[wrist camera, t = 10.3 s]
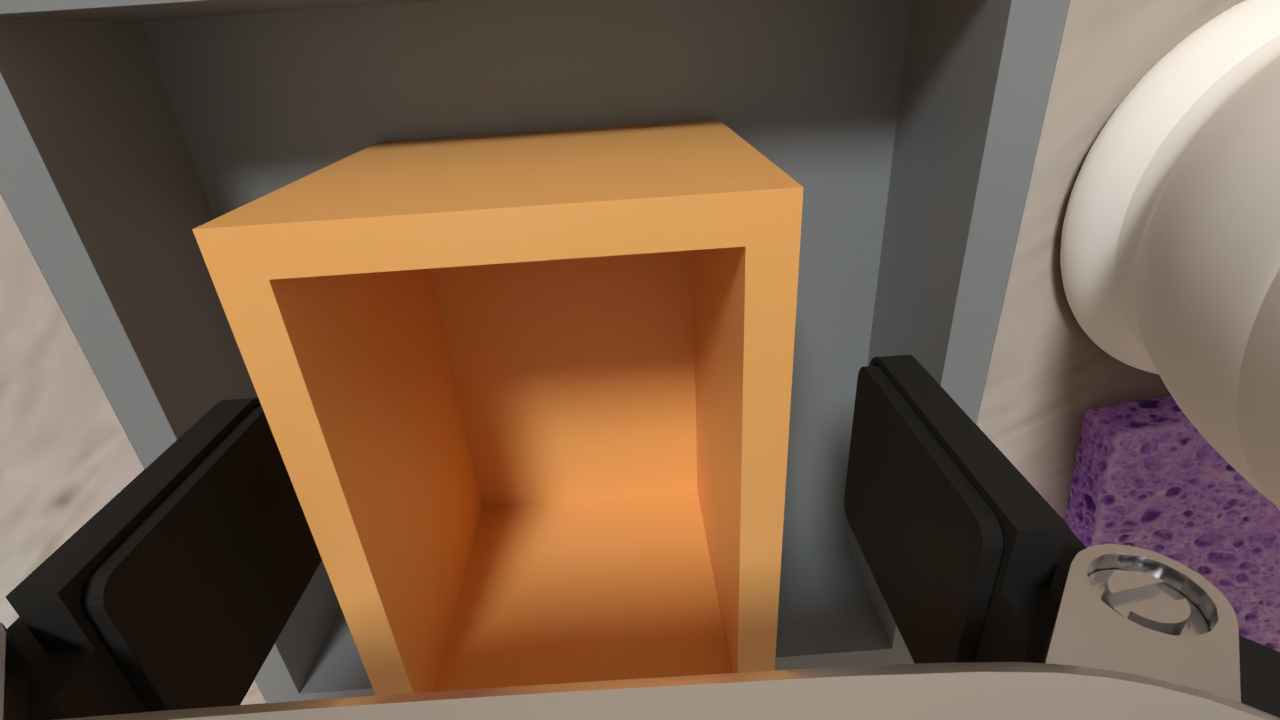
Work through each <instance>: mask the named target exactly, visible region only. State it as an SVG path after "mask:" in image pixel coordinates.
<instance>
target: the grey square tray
mask: <svg viewBox="0 0 1280 720" xmlns="http://www.w3.org/2000/svg"><path fill="white" fill-rule="evenodd" d="M1069 5H1070V0H0V194H1V196H2V198H3V199H4V201H5V203H6V205H7V207H8V209H9V211H10V213H11V215H12V217H13V219H14V221H15V222H16V224H17V226H18V228H19V230H20V232H21V234H22V236H23V238H24V240H25V242H26V243H27V245H28V247H29V249H30V251H31V253H32V255H33V257H34V259H35V261H36V263H37V265H38V266H39V268H40V270H41V272H42V274H43V276H44V278H45V280H46V282H47V284H48V286H49V287H50V289H51V291H52V293H53V295H54V297H55V299H56V301H57V303H58V305H59V307H60V309H61V310H62V312H63V314H64V316H65V318H66V320H67V322H68V324H69V326H70V328H71V330H72V331H73V333H74V335H75V337H76V339H77V341H78V343H79V345H80V347H81V349H82V351H83V353H84V354H85V356H86V358H87V360H88V362H89V364H90V366H91V368H92V370H93V372H94V374H95V375H96V377H97V379H98V381H99V383H100V385H101V387H102V389H103V391H104V393H105V395H106V397H107V398H108V400H109V402H110V404H111V406H112V408H113V410H114V412H115V414H116V416H117V418H118V419H119V421H120V423H121V425H122V427H123V429H124V431H125V433H126V435H127V437H128V439H129V441H130V442H131V444H132V446H133V448H134V450H135V452H136V454H137V456H138V458H139V460H140V462H141V463H142V465H143V467H144V469H146V468H147V467H148V466H149V465H150V464H151V463H152V462H153V461H155V460H156V459H157V458H158V457H159V456H160V455H161V454H162V453H163V452H164V451H165V450H167V449H168V448H169V447H170V446H171V445H172V444H173V443H174V442H175V441H176V440H177V439H179V438H180V437H181V436H182V435H183V434H184V433H185V432H186V431H187V430H188V429H190V428H191V427H192V426H193V425H194V424H195V423H196V422H197V421H198V420H199V419H200V418H202V417H203V416H204V415H205V414H206V413H207V412H208V411H209V410H210V409H211V408H212V407H214V406H215V405H216V404H217V403H218V402H220V401H222V400H231V399H246V398H258V395H257V393H256V390H255V388H254V385H253V383H252V380H251V378H250V375H249V373H248V370H247V368H246V365H245V362H244V360H243V357H242V355H241V352H240V350H239V347H238V345H237V342H236V340H235V337H234V334H233V332H232V329H231V327H230V324H229V322H228V319H227V317H226V314H225V312H224V309H223V307H222V304H221V301H220V299H219V296H218V294H217V291H216V289H215V286H214V284H213V281H212V279H211V276H210V274H209V271H208V268H207V266H206V263H205V261H204V258H203V256H202V253H201V251H200V248H199V246H198V243H197V240H196V238H195V235H194V233H193V230H192V229H194V228H196V227H198V226H201V225H203V224H205V223H207V222H209V221H211V220H213V219H215V218H218V217H220V216H222V215H224V214H226V213H228V212H230V211H233V210H235V209H237V208H239V207H241V206H243V205H245V204H248V203H250V202H252V201H254V200H256V199H258V198H260V197H263V196H265V195H267V194H269V193H271V192H273V191H275V190H277V189H280V188H282V187H284V186H286V185H288V184H290V183H292V182H295V181H297V180H299V179H301V178H303V177H305V176H307V175H310V174H312V173H314V172H316V171H318V170H320V169H322V168H325V167H327V166H329V165H331V164H333V163H335V162H337V161H340V160H342V159H344V158H346V157H348V156H350V155H352V154H354V153H357V152H359V151H361V150H363V149H365V148H367V147H369V146H372V145H374V144H376V143H378V142H384V141H399V140H413V139H428V138H443V137H458V136H472V135H487V134H502V133H516V132H531V131H546V130H561V129H575V128H590V127H605V126H619V125H634V124H649V123H664V122H678V121H693V120H708V119H718V120H720V121H721V122H722V123H724V124H725V125H726V126H727V127H729V128H730V129H731V130H732V131H734V132H735V133H736V134H737V135H739V136H740V137H741V138H742V139H744V140H745V141H746V142H747V143H749V144H750V145H751V146H752V147H754V148H755V149H756V150H757V151H759V152H760V153H761V154H762V155H764V156H765V157H766V158H767V159H769V160H770V161H771V162H773V163H774V164H775V165H776V166H778V167H779V168H780V169H781V170H783V171H784V172H785V173H786V174H788V175H789V176H790V177H791V178H793V179H794V180H795V181H796V182H798V183H799V184H800V185H801V186H803V187H804V188H803V205H802V222H801V238H800V255H799V272H798V288H797V305H796V322H795V339H794V355H793V372H792V389H791V405H790V422H789V439H788V456H787V472H786V489H785V506H784V522H783V539H782V556H781V572H780V589H779V606H778V623H777V639H776V656H775V671H776V670H792V669H809V668H830V667H853V666H875V665H897V664H915V663H914V661H913V659H912V657H911V655H910V653H909V651H908V649H907V646H906V644H905V642H904V640H903V638H902V636H901V634H900V632H899V629H898V627H897V625H896V623H895V621H894V619H893V617H892V614H891V612H890V610H889V608H888V606H887V604H886V602H885V600H884V597H883V595H882V593H881V591H880V589H879V587H878V585H877V583H876V580H875V578H874V576H873V574H872V572H871V570H870V568H869V565H868V563H867V561H866V559H865V557H864V555H863V553H862V551H861V548H860V546H859V544H858V542H857V540H856V538H855V536H854V534H853V531H852V529H851V527H850V525H849V523H848V520H847V518H846V514H845V508H844V494H845V485H846V477H847V468H848V459H849V450H850V441H851V432H852V424H853V415H854V406H855V397H856V388H857V379H858V373H859V370H860V368H861V367H864V366H869V364H870V362H871V359H873V358H874V357H881V356H896V355H912V356H913V357H915V358H916V360H917V361H918V362H919V363H920V364H921V365H922V366H923V367H924V368H925V369H926V371H927V372H928V373H929V374H930V375H931V376H932V377H933V378H934V379H935V380H936V381H937V383H938V384H939V385H940V386H941V387H942V388H943V389H944V390H945V391H946V392H947V393H948V395H949V396H950V397H951V398H952V399H953V400H954V401H955V402H956V403H957V404H958V405H959V407H960V408H961V409H962V410H963V411H964V412H965V413H966V414H967V415H968V416H969V417H970V419H971V420H972V421H973V422H974V423H975V424H976V423H977V419H978V414H979V410H980V405H981V401H982V396H983V392H984V387H985V383H986V378H987V374H988V369H989V365H990V360H991V356H992V351H993V347H994V342H995V338H996V333H997V329H998V324H999V320H1000V315H1001V311H1002V306H1003V302H1004V297H1005V293H1006V288H1007V284H1008V279H1009V275H1010V270H1011V266H1012V261H1013V257H1014V252H1015V248H1016V243H1017V239H1018V234H1019V230H1020V225H1021V221H1022V216H1023V212H1024V207H1025V203H1026V198H1027V194H1028V189H1029V185H1030V180H1031V176H1032V171H1033V167H1034V162H1035V158H1036V153H1037V149H1038V144H1039V140H1040V135H1041V131H1042V126H1043V122H1044V117H1045V113H1046V108H1047V104H1048V99H1049V95H1050V90H1051V86H1052V81H1053V77H1054V72H1055V68H1056V63H1057V59H1058V54H1059V50H1060V45H1061V41H1062V36H1063V32H1064V27H1065V23H1066V18H1067V14H1068V9H1069ZM254 680H255V682H256V683H257V685H258V687H259V689H260V691H261V693H262V695H263V697H264V699H265V701H266V703H279V702H293V701H307V700H321V699H335V698H349V697H363V696H376V695H375V693H374V690H373V688H372V685H371V683H370V680H369V677H368V675H367V672H366V670H365V667H364V665H363V662H362V660H361V657H360V655H359V652H358V650H357V647H356V644H355V642H354V639H353V637H352V634H351V632H350V629H349V627H348V624H347V622H346V619H345V617H344V614H343V611H342V609H341V606H340V604H339V601H338V599H337V596H336V594H335V591H334V589H333V586H332V583H331V581H330V578H329V576H328V573H327V571H326V568H325V566H324V563H323V561H321V563H320V565H319V566H318V568H317V570H316V572H315V573H314V575H313V577H312V579H311V580H310V582H309V584H308V586H307V588H306V589H305V591H304V593H303V595H302V596H301V598H300V600H299V602H298V603H297V605H296V607H295V609H294V610H293V612H292V614H291V616H290V618H289V619H288V621H287V623H286V625H285V626H284V628H283V630H282V632H281V633H280V635H279V637H278V639H277V640H276V642H275V644H274V646H273V648H272V649H271V651H270V653H269V655H268V656H267V658H266V660H265V662H264V663H263V665H262V667H261V669H260V671H259V672H258V674H257V676H256V678H255V679H254Z"/></svg>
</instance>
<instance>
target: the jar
mask: <svg viewBox="0 0 1280 720" xmlns="http://www.w3.org/2000/svg"><path fill="white" fill-rule="evenodd" d="M1060 265H1061V274H1062V280H1063V286H1064V291H1065V294H1066V298H1067V301H1068V303H1069V306H1070V308H1071V310H1072V312H1073V314H1074V316H1075V318H1076V320H1077V322H1078V323H1079V325H1080V326H1081V328H1082V329H1083V331H1084V332H1085V333H1086V334H1087V335H1088V337H1089V338H1090V339H1091V340H1092V341H1093V342H1094V343H1095V344H1096V345H1097V346H1098V347H1100V348H1101V349H1102V350H1103V351H1105V352H1106V353H1107V354H1109V355H1110V356H1112V357H1114V358H1115V359H1117V360H1119V361H1121V362H1123V363H1125V364H1127V365H1129V366H1132V367H1134V368H1137V369H1140V370H1143V371H1147V372H1150V373H1154V374H1159V375H1160V377H1161V379H1162V381H1163V383H1164V384H1165V386H1166V388H1167V389H1168V391H1169V393H1170V394H1171V396H1172V397H1173V399H1174V400H1175V402H1176V403H1177V405H1178V406H1179V408H1180V409H1181V410H1182V412H1183V413H1184V414H1185V416H1186V417H1187V418H1188V419H1189V421H1190V422H1191V423H1192V424H1193V426H1194V427H1195V428H1196V429H1197V430H1198V431H1199V433H1200V434H1201V435H1202V436H1203V437H1204V438H1205V439H1206V441H1207V442H1208V443H1209V444H1210V445H1211V446H1212V447H1213V448H1214V449H1215V450H1216V451H1217V452H1218V453H1219V454H1220V455H1221V456H1222V457H1223V458H1224V459H1225V460H1226V461H1227V462H1228V463H1229V464H1230V465H1231V466H1232V467H1233V468H1234V469H1235V470H1236V471H1237V472H1238V473H1239V474H1240V475H1241V476H1242V477H1243V478H1245V479H1246V480H1247V481H1248V482H1249V483H1250V484H1251V485H1252V486H1253V487H1255V488H1256V489H1257V490H1258V491H1259V492H1260V493H1261V494H1263V495H1264V496H1265V497H1266V498H1267V499H1269V500H1270V501H1271V502H1272V503H1274V504H1275V505H1276V507H1277V508H1278V509H1279V510H1280V0H1245V1H1243V2H1241V3H1239V4H1237V5H1235V6H1233V7H1231V8H1229V9H1228V10H1226V11H1224V12H1223V13H1221V14H1219V15H1218V16H1216V17H1215V18H1213V19H1212V20H1210V21H1209V22H1207V23H1206V24H1204V25H1203V26H1201V27H1200V28H1199V29H1197V30H1196V31H1194V32H1193V33H1192V34H1190V35H1189V36H1188V37H1186V38H1185V39H1184V40H1182V41H1181V42H1180V43H1179V44H1178V45H1176V46H1175V47H1174V48H1173V49H1172V50H1171V51H1170V52H1168V53H1167V54H1166V55H1165V56H1164V57H1163V58H1162V59H1161V60H1160V61H1158V62H1157V63H1156V64H1155V65H1154V66H1153V67H1152V68H1151V69H1150V70H1149V71H1148V72H1147V73H1146V74H1145V75H1144V76H1143V77H1142V78H1141V80H1140V81H1139V82H1138V83H1137V84H1136V85H1135V86H1134V88H1133V89H1132V90H1131V91H1130V92H1129V93H1128V95H1127V96H1126V97H1125V98H1124V100H1123V101H1122V102H1121V103H1120V104H1119V106H1118V107H1117V108H1116V110H1115V111H1114V112H1113V114H1112V115H1111V117H1110V118H1109V120H1108V121H1107V123H1106V124H1105V126H1104V127H1103V129H1102V130H1101V132H1100V134H1099V135H1098V137H1097V139H1096V140H1095V142H1094V144H1093V145H1092V147H1091V149H1090V151H1089V152H1088V154H1087V156H1086V159H1085V161H1084V163H1083V165H1082V167H1081V170H1080V172H1079V174H1078V177H1077V179H1076V181H1075V184H1074V186H1073V189H1072V192H1071V195H1070V198H1069V202H1068V206H1067V210H1066V214H1065V218H1064V223H1063V228H1062V236H1061V251H1060Z"/></svg>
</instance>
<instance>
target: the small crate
mask: <svg viewBox="0 0 1280 720" xmlns="http://www.w3.org/2000/svg"><path fill="white" fill-rule="evenodd" d="M803 188H804V187H803V186H801V185H800V184H799V183H798V182H796V181H795V180H794V179H793V178H791V177H790V176H789V175H788V174H786V173H785V172H784V171H783V170H781V169H780V168H779V167H778V166H776V165H775V164H774V163H773V162H771V161H770V160H769V159H767V158H766V157H765V156H764V155H762V154H761V153H760V152H759V151H757V150H756V149H755V148H754V147H752V146H751V145H750V144H749V143H747V142H746V141H745V140H744V139H742V138H741V137H740V136H739V135H737V134H736V133H735V132H734V131H732V130H731V129H730V128H729V127H727V126H726V125H725V124H724V123H722V122H721V121H720V120H718V119H708V120H693V121H678V122H664V123H649V124H634V125H619V126H605V127H590V128H575V129H561V130H546V131H531V132H516V133H502V134H487V135H472V136H458V137H443V138H428V139H413V140H399V141H384V142H378V143H376V144H374V145H372V146H369V147H367V148H365V149H363V150H361V151H359V152H357V153H354V154H352V155H350V156H348V157H346V158H344V159H342V160H340V161H337V162H335V163H333V164H331V165H329V166H327V167H325V168H322V169H320V170H318V171H316V172H314V173H312V174H310V175H307V176H305V177H303V178H301V179H299V180H297V181H295V182H292V183H290V184H288V185H286V186H284V187H282V188H280V189H277V190H275V191H273V192H271V193H269V194H267V195H265V196H263V197H260V198H258V199H256V200H254V201H252V202H250V203H248V204H245V205H243V206H241V207H239V208H237V209H235V210H233V211H230V212H228V213H226V214H224V215H222V216H220V217H218V218H215V219H213V220H211V221H209V222H207V223H205V224H203V225H201V226H198V227H196V228H194V229H192V230H193V233H194V235H195V238H196V240H197V243H198V246H199V248H200V251H201V253H202V256H203V258H204V261H205V263H206V266H207V268H208V271H209V274H210V276H211V279H212V281H213V284H214V286H215V289H216V291H217V294H218V296H219V299H220V301H221V304H222V307H223V309H224V312H225V314H226V317H227V319H228V322H229V324H230V327H231V329H232V332H233V334H234V337H235V340H236V342H237V345H238V347H239V350H240V352H241V355H242V357H243V360H244V362H245V365H246V368H247V370H248V373H249V375H250V378H251V380H252V383H253V385H254V388H255V390H256V393H257V395H258V398H259V401H260V403H261V406H262V408H263V411H264V413H265V416H266V418H267V421H268V423H269V426H270V429H271V431H272V434H273V436H274V439H275V441H276V444H277V446H278V449H279V451H280V454H281V456H282V459H283V462H284V464H285V467H286V469H287V472H288V474H289V477H290V479H291V482H292V484H293V487H294V489H295V492H296V495H297V497H298V500H299V502H300V505H301V507H302V510H303V512H304V515H305V517H306V520H307V523H308V525H309V528H310V530H311V533H312V535H313V538H314V540H315V543H316V545H317V548H318V550H319V553H320V556H321V558H322V561H323V563H324V566H325V568H326V571H327V573H328V576H329V578H330V581H331V583H332V586H333V589H334V591H335V594H336V596H337V599H338V601H339V604H340V606H341V609H342V611H343V614H344V617H345V619H346V622H347V624H348V627H349V629H350V632H351V634H352V637H353V639H354V642H355V644H356V647H357V650H358V652H359V655H360V657H361V660H362V662H363V665H364V667H365V670H366V672H367V675H368V677H369V680H370V683H371V685H372V688H373V690H374V693H375V695H376V696H378V695H393V694H409V693H424V692H439V691H454V690H469V689H484V688H499V687H515V686H530V685H546V684H561V683H577V682H592V681H608V680H625V679H641V678H658V677H675V676H692V675H708V674H725V673H742V672H759V671H775V656H776V639H777V623H778V606H779V589H780V572H781V556H782V539H783V522H784V506H785V489H786V472H787V456H788V439H789V422H790V405H791V389H792V372H793V355H794V339H795V322H796V305H797V288H798V272H799V255H800V238H801V222H802V205H803Z"/></svg>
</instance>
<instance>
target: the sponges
mask: <svg viewBox="0 0 1280 720" xmlns="http://www.w3.org/2000/svg"><path fill="white" fill-rule="evenodd" d="M1080 435H1081V442H1080V444H1079V446H1078V449H1077V454H1076V460H1075V465H1074V477H1073V479H1072V482H1071V485H1070V488H1069V493H1070V503H1069V504H1068V506H1067V508H1066V511H1065V518H1064V521H1065V522H1066V523H1067V525H1068V526H1069V527H1070V528H1069V529H1070V530H1071V531H1072V532H1073V533H1074V534H1075V535H1076V536H1077V538H1078V539H1079V540H1080V541H1081V542H1082V543H1083V544H1084V545H1085V546H1086V547H1087V548H1088V547H1090V546H1095V545H1102V544H1118V545H1130V546H1134V547H1138V548H1142V549H1146V550H1149V551H1153V552H1156V553H1159V554H1161V555H1163V556H1166V557H1168V558H1171V559H1173V560H1175V561H1178V562H1180V563H1181V564H1183V565H1185V566H1187V567H1188V568H1190V569H1192V570H1193V571H1195V572H1197V573H1198V574H1200V575H1202V576H1203V577H1204V578H1205V579H1206V580H1208V581H1209V582H1210V583H1211V584H1212V585H1214V586H1215V587H1216V588H1217V589H1218V590H1220V591H1221V593H1222V594H1223V595H1224V596H1225V598H1226V599H1227V600H1228V602H1229V603H1230V604H1231V606H1232V607H1233V608H1234V612H1235V615H1236V618H1237V621H1238V627H1239V635H1240V636H1242V637H1245V638H1247V639H1250V640H1252V641H1254V642H1257V643H1259V644H1262V645H1264V646H1266V647H1269V648H1271V649H1274V650H1276V651H1278V652H1280V510H1279V509H1278V508H1277V507H1276V505H1275V504H1274V503H1272V502H1271V501H1270V500H1269V499H1267V498H1266V497H1265V496H1264V495H1263V494H1261V493H1260V492H1259V491H1258V490H1257V489H1256V488H1255V487H1253V486H1252V485H1251V484H1250V483H1249V482H1248V481H1247V480H1246V479H1245V478H1243V477H1242V476H1241V475H1240V474H1239V473H1238V472H1237V471H1236V470H1235V469H1234V468H1233V467H1232V466H1231V465H1230V464H1229V463H1228V462H1227V461H1226V460H1225V459H1224V458H1223V457H1222V456H1221V455H1220V454H1219V453H1218V452H1217V451H1216V450H1215V449H1214V448H1213V447H1212V446H1211V445H1210V444H1209V443H1208V442H1207V441H1206V439H1205V438H1204V437H1203V436H1202V435H1201V434H1200V433H1199V431H1198V430H1197V429H1196V428H1195V427H1194V426H1193V424H1192V423H1191V422H1190V421H1189V419H1188V418H1187V417H1186V416H1185V414H1184V413H1183V412H1182V410H1181V409H1180V408H1179V406H1178V405H1177V403H1176V402H1175V400H1174V399H1173V397H1172V396H1171V395H1170V396H1164V397H1158V398H1152V399H1149V400H1146V401H1138V402H1128V403H1122V404H1116V405H1111V406H1105V407H1099V408H1093V409H1088V410H1086V411H1085V412H1084V414H1083V426H1082V429H1081V434H1080Z"/></svg>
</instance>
